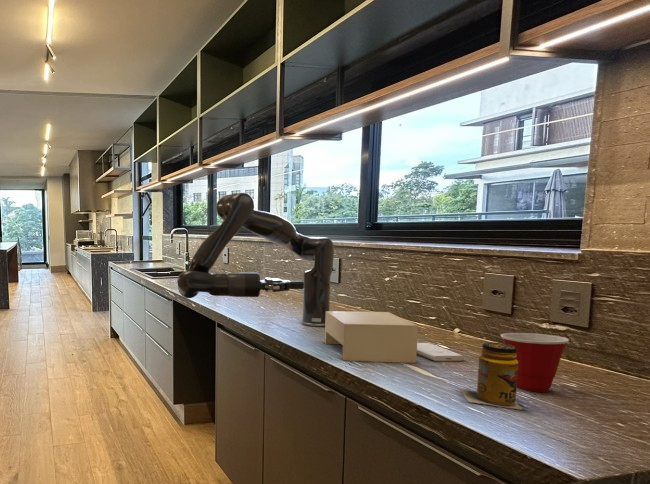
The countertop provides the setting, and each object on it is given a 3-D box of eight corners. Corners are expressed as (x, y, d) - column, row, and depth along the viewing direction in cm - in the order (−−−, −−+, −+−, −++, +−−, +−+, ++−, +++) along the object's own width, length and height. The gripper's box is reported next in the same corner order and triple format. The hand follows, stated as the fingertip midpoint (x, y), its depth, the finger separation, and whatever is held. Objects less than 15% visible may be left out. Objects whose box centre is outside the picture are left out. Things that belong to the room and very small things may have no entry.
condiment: (523, 410, 82) (528, 351, 80) (468, 402, 86) (472, 346, 85) (510, 397, 88) (514, 342, 87) (459, 390, 92) (463, 338, 91)
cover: (324, 342, 132) (325, 311, 131) (386, 344, 128) (388, 312, 127) (343, 360, 114) (344, 323, 113) (416, 363, 111) (418, 325, 110)
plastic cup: (515, 376, 100) (518, 327, 99) (576, 392, 90) (581, 338, 88) (485, 382, 96) (488, 332, 95) (545, 399, 86) (550, 344, 85)
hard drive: (429, 348, 124) (463, 360, 112) (402, 348, 124) (433, 361, 112) (430, 342, 124) (464, 355, 112) (402, 343, 124) (433, 355, 112)
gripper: (245, 275, 120) (308, 275, 116) (240, 270, 133) (298, 270, 129) (244, 300, 120) (308, 301, 117) (240, 293, 134) (297, 293, 130)
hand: (302, 285), depth 123 cm, fingers closed
